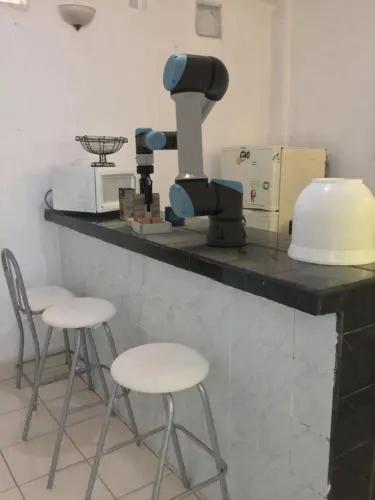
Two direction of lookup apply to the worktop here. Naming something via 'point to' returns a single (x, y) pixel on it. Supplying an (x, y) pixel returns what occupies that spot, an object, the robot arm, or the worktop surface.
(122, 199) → the coffee box
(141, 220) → the tile
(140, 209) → the tan block
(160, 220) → the tile
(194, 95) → the robot arm
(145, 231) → the tray
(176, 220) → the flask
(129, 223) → the board
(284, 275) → the worktop surface
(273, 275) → the worktop surface
